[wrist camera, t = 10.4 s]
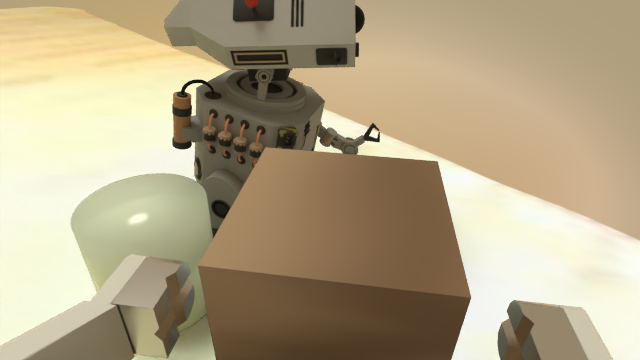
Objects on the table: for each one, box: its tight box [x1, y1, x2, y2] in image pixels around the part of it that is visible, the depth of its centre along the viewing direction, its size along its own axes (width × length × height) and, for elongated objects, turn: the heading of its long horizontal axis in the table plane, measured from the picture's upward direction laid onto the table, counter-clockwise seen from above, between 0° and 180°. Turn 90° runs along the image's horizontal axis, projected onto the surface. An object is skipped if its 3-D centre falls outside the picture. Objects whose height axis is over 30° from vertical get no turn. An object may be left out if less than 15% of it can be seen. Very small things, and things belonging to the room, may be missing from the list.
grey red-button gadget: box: [164, 0, 380, 238], centre depth 24 cm, size 9×12×15 cm
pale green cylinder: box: [71, 174, 213, 332], centre depth 20 cm, size 6×6×6 cm
